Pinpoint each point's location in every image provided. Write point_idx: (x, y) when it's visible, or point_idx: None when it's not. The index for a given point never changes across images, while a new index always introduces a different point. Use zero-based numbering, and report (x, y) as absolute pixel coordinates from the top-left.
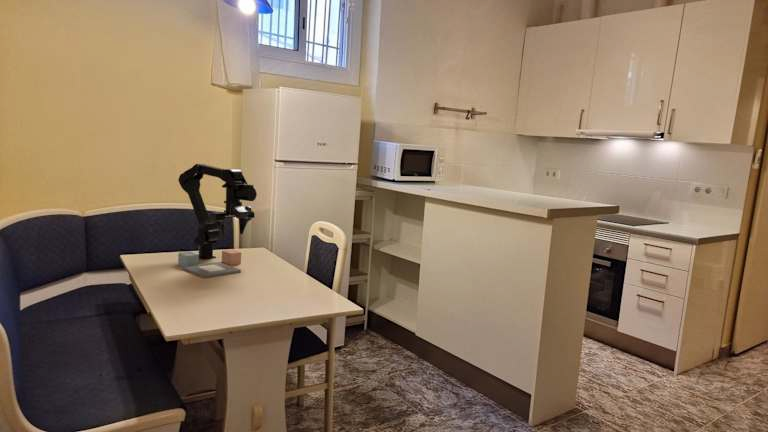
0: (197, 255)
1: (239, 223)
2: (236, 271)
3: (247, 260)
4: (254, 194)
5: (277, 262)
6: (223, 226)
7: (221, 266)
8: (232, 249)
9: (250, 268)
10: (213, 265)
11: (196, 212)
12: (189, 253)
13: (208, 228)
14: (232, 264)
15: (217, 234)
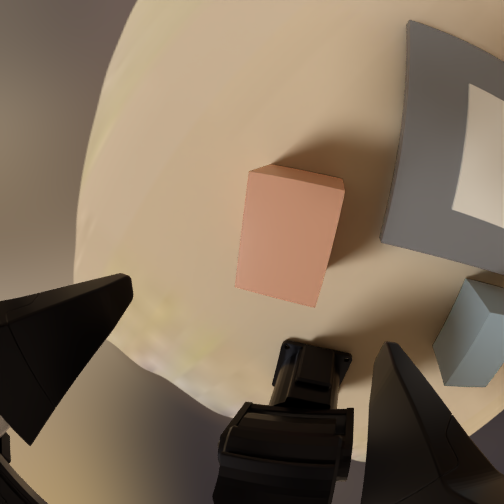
0: (492, 310)
1: (62, 392)
2: (434, 30)
3: (191, 202)
4: None
5: (116, 86)
6: (441, 449)
7: (447, 149)
8: (236, 283)
9: (300, 48)
10: (467, 194)
11: None
12: (482, 357)
13: (317, 493)
14: (328, 176)
15: (251, 436)
